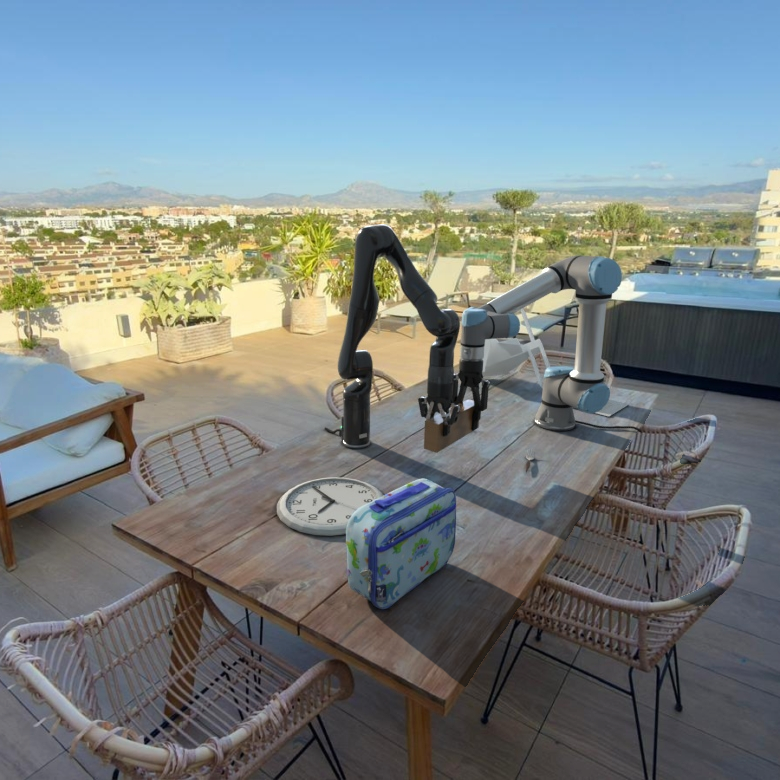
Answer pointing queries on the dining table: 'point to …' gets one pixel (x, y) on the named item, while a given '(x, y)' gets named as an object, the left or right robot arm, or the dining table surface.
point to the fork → (529, 460)
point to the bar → (457, 430)
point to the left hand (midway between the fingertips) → (437, 433)
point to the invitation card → (611, 408)
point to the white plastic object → (512, 354)
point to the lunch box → (400, 540)
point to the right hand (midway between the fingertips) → (467, 427)
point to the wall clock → (324, 504)
